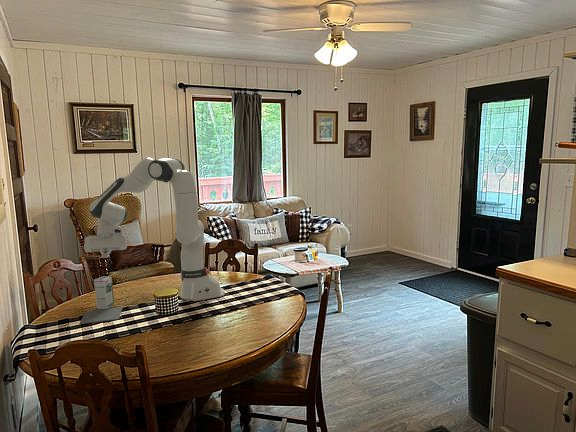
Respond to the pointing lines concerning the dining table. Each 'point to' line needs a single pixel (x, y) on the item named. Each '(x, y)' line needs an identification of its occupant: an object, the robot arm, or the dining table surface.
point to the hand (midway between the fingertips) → (105, 257)
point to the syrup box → (104, 292)
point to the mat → (101, 315)
